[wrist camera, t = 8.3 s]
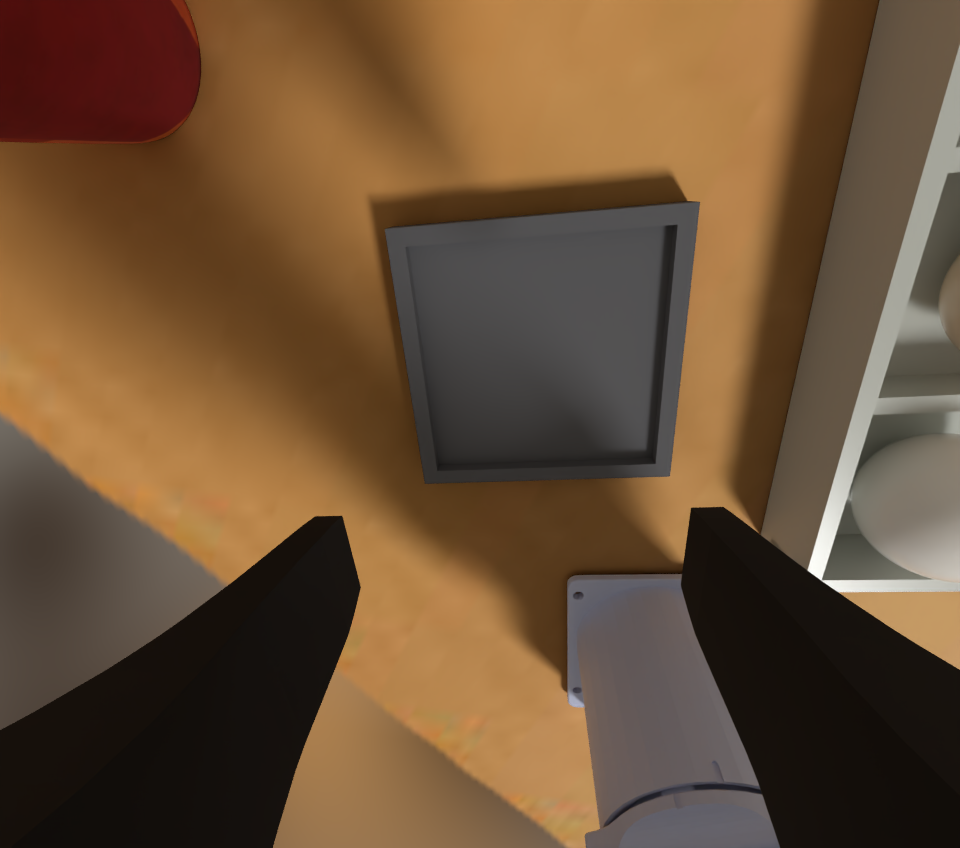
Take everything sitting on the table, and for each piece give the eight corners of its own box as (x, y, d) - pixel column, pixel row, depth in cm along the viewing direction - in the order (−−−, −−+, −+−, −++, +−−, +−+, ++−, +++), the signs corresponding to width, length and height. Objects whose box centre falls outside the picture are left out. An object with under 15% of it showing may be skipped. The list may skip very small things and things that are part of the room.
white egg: (940, 518, 19) (1067, 617, 15) (809, 520, 20) (894, 617, 15) (987, 406, 17) (1153, 482, 13) (838, 412, 18) (948, 488, 13)
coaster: (662, 462, 20) (669, 476, 19) (429, 469, 21) (424, 483, 20) (688, 200, 16) (700, 201, 15) (392, 226, 17) (384, 228, 16)
